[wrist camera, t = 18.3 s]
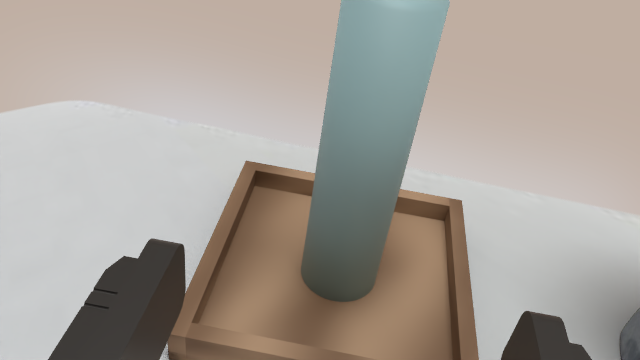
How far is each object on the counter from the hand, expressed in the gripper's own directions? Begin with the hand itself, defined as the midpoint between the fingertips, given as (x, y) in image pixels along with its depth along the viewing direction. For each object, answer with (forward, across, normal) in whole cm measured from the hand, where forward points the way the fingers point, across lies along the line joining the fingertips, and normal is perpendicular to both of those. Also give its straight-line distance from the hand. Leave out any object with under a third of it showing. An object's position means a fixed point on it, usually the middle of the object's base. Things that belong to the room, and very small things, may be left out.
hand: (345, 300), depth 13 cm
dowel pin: (+12, 0, +11) cm, 17 cm away
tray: (+12, 0, +12) cm, 17 cm away
